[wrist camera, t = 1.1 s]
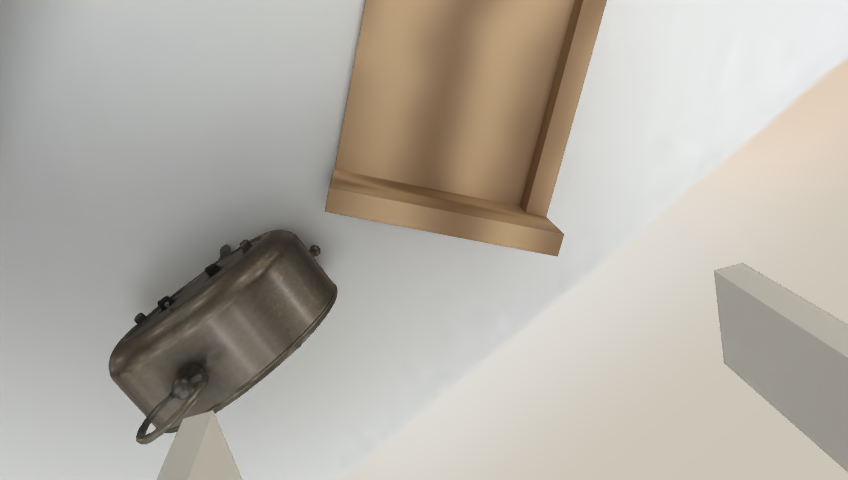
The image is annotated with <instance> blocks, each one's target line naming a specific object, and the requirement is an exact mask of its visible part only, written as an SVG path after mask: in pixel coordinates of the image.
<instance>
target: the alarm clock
mask: <svg viewBox="0 0 848 480" xmlns="http://www.w3.org/2000/svg"><path fill="white" fill-rule="evenodd" d="M319 254H320V248H319V247H318V246H312V247H311V249H310V251H308V249H307V248H306V247H305V246H304V244H303V243H302V242H301V240H300V239H299V238H298V237H297V236H296V235H295V234H293V233H291V232H288V231H284V230H275V231H270V232H267V233H264V234H262V235H260V236H258V237H256V238H254V239H252V240H251V241H248V240H243V241H242V242H241V243H240V247H239V248H238V249H236V250H235V251H233V252H232V253H230V247H229V246H228V245H224V246H223V247H222V248H221V249H220V259H219V260H218V261H217V262H215V263H214V264H211V265H209V266H208V267H206V269H205V272H203V273H202V274H200V275H199V276H198V277H196V278H195V279H194V280H192V281H191V282H189V283H188V284H187V285H185V286H184V287H183V288H181V289H180V290H179V291H177V292H176V293H175V294H173V295H172V296H171V297H169V296H166V297H164V298H163V299H161V300H160V301H158V305H159V306H158V307H157V308H156V309H155V310H153V311H152V312H151V313H150V314H148V315H147V316H145V315H144V314H143V313H139V314H138V315H137V316H136V317H135V319H134V320H135V322H136V323H137V325H136V326H134V327H133V328H132V329H131V330H130V331H129V332H128V333H127V334H126V335H125V336H124V337H123V338H122V339H121V340H120V341H119V343H118V344H117V345H116V347H115V348H114V350H113V352H112V354H111V356H110V360H109V371H110V376H111V378H112V379H113V381H114V382H115V383H116V384H117V385H118V386H119V387H120V389H121V390H122V391H123V392H124V393H125V394H126V395H127V396H128V397H129V398H130V399H131V400H132V401H133V403H134V404H135V405H136V406H137V407H138V408H139V409H140V410H141V411H142V412H143V413H144V415H145V416H146V417H147V418H146V419H145V420H144V422H143V424H142V425H141V426H140V428H139V430H138V433H137V436H136V441H137V442H138V443H140V444H148V443H150V442H152V441H154V440H155V439H156V438H158V437H159V436H161V435H162V434H163V433H174V432H177V431H178V430H179V427H180V425H181V423H182V420H183V419H184V418H187V417H191V416H195V415H198V414H202V413H205V412H209V411H214V414H215V413H216V412H218V411H219V410H221V409H222V408H224V407H226V406H227V405H228V404H230V403H231V402H233V401H234V400H236V399H237V398H238V397H240V396H241V395H243V394H244V393H245V392H247V391H248V390H249V389H250V388H252V387H253V386H254V385H255V384H257V383H258V382H259V381H261V380H262V379H263V378H264V377H266V376H267V375H268V374H269V373H270V372H272V371H273V370H274V369H275V368H276V367H277V366H279V365H280V364H281V363H282V362H283V361H284V360H285V359H286V358H288V357H289V356H290V355H291V354H292V353H293V352H294V351H295V350H296V349H297V348H299V347H300V346H301V345H302V343H303V342H304V341H306V339H307V338H308V337H309V336H310V335H311V334H312V333H313V332H314V331H315V329H316V328H317V327H318V326H319V325H320V323H321V322H322V321H323V319H324V318H325V317H326V315H327V314H328V313H329V311H330V310H331V308H332V306H333V304H334V303H335V300H336V297H337V286H336V285H335V284H334V283H333V282H332V281H331V280H330V278H329V277H328V276H327V275H326V273H325V272H324V271H323V269H322V268H321V267H320V265H319V264H318V263H317V261H316V260H315V259H314V256H317V255H319ZM151 423H153V425H154V426H155V427H156V428H157V429H156V430H154V431H153V432H152V433H149V434H147V435H145V434H146V431H147V428H148V426H149V425H150V424H151Z"/></svg>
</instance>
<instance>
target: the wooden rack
mask: <svg viewBox="0 0 848 480" xmlns="http://www.w3.org/2000/svg"><path fill="white" fill-rule="evenodd" d="M606 1H607V0H366V2H365V7H364V13H363V18H362V24H361V29H360V34H359V40H358V45H357V51H356V56H355V61H354V67H353V72H352V78H351V83H350V88H349V94H348V99H347V105H346V110H345V115H344V121H343V126H342V132H341V137H340V142H339V148H338V153H337V159H336V164H335V169H334V173H333V176H332V179H331V183H330V186H329V191H328V196H327V202H326V207H325V212H330V213H335V214H340V215H345V216H350V217H356V218H361V219H366V220H371V221H376V222H382V223H387V224H392V225H397V226H402V227H408V228H413V229H418V230H423V231H428V232H434V233H439V234H444V235H449V236H454V237H459V238H465V239H470V240H475V241H480V242H485V243H491V244H496V245H501V246H506V247H511V248H517V249H522V250H527V251H532V252H537V253H543V254H548V255H553V256H558V254H559V250H560V247H561V243H562V240H563V236H564V234H563V233H562V232H561V231H560V230H559V229H558V228H557V227H556V226H555V225H554V224H553V223H552V222H551V221H550V220H549V219H548V218H547V217H546V215H547V212H548V208H549V205H550V201H551V197H552V194H553V190H554V187H555V183H556V180H557V176H558V172H559V169H560V165H561V162H562V158H563V155H564V151H565V148H566V144H567V140H568V137H569V133H570V130H571V126H572V123H573V119H574V115H575V112H576V108H577V105H578V101H579V98H580V94H581V91H582V87H583V83H584V80H585V76H586V73H587V69H588V66H589V62H590V58H591V55H592V51H593V48H594V44H595V41H596V37H597V34H598V30H599V26H600V23H601V19H602V16H603V12H604V9H605V5H606Z"/></svg>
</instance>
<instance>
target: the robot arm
mask: <svg viewBox="0 0 848 480" xmlns="http://www.w3.org/2000/svg"><path fill="white" fill-rule="evenodd" d="M714 276H715V285H716V294H717V303H718V312H719V322H720V331H721V340H722V348H723V358H724V363H725V364H726V365H727V366H728V367H729V368H730V369H731V370H733V371H734V372H735V373H736V374H737V375H738V376H739V377H740V378H742V379H743V380H744V381H745V382H746V383H747V384H748V385H749V386H751V387H752V388H753V389H754V390H755V391H756V392H757V393H759V394H760V395H761V396H762V397H763V398H764V399H765V400H766V401H768V402H769V403H770V404H771V405H772V406H773V407H774V408H776V409H777V410H778V411H779V412H780V413H781V414H782V415H783V416H785V417H786V418H787V419H788V420H789V421H790V422H791V423H793V424H794V425H795V426H796V427H797V428H798V429H799V430H800V431H802V432H803V433H804V434H805V435H806V436H807V437H809V438H810V439H811V440H812V441H813V442H814V443H815V444H816V445H817V446H819V447H820V448H821V449H822V450H823V451H824V452H826V453H827V454H828V455H829V456H830V457H831V458H832V459H833V460H835V461H836V462H837V463H838V464H839V465H840V466H841V467H843V468H844V469H845V470H846V471H847V472H848V324H847V323H845V322H843V321H842V320H840V319H838V318H837V317H835V316H833V315H831V314H830V313H828V312H826V311H825V310H823V309H821V308H819V307H818V306H816V305H814V304H813V303H811V302H809V301H807V300H806V299H804V298H802V297H801V296H799V295H797V294H795V293H794V292H792V291H790V290H789V289H787V288H785V287H783V286H782V285H780V284H778V283H777V282H775V281H773V280H771V279H770V278H768V277H766V276H764V275H763V274H761V273H759V272H758V271H756V270H754V269H752V268H751V267H749V266H747V265H746V264H744V263H740V264H736V265H732V266H729V267H725V268H722V269H718V270H714ZM157 480H242V478H241V476H240V473H239V471H238V468H237V466H236V464H235V461H234V459H233V456H232V454H231V452H230V449H229V447H228V445H227V442H226V440H225V437H224V435H223V433H222V430H221V428H220V426H219V423H218V421H217V418H216V416H215V414H214V411H209V412H205V413H202V414H198V415H195V416H191V417H187V418H184V419H183V420H182V423H181V425H180V427H179V430H178V432H177V434H176V436H175V439H174V441H173V443H172V445H171V448H170V450H169V452H168V455H167V457H166V459H165V461H164V464H163V466H162V468H161V471H160V473H159V475H158V477H157Z"/></svg>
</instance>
